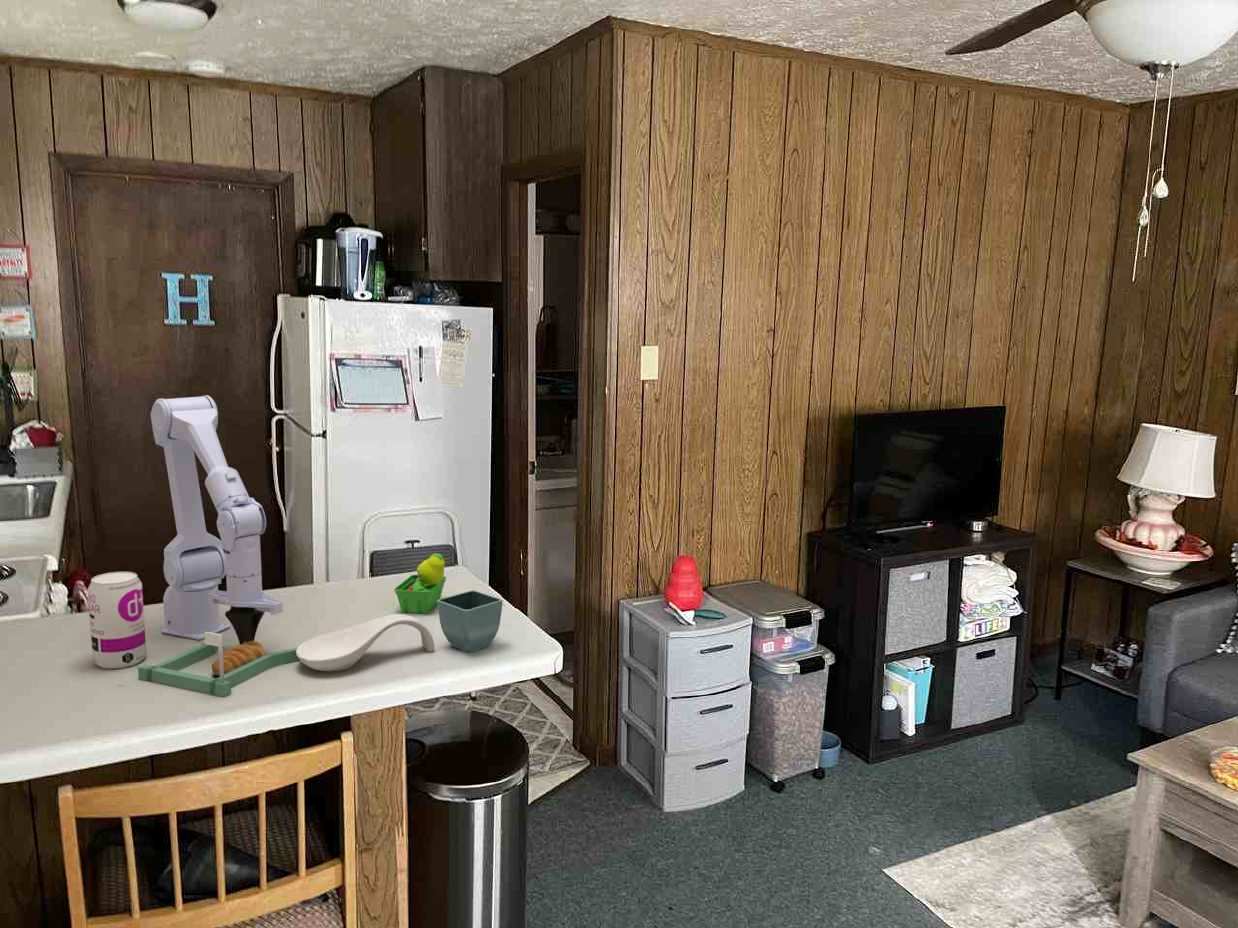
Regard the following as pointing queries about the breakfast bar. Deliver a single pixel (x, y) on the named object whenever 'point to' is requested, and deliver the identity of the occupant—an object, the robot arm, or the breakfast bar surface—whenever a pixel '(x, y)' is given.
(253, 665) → the green bars
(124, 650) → the supplement can
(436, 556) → the fruit basket
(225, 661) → the pastry
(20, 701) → the breakfast bar surface
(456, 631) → the flower pot
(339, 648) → the spoon rest
